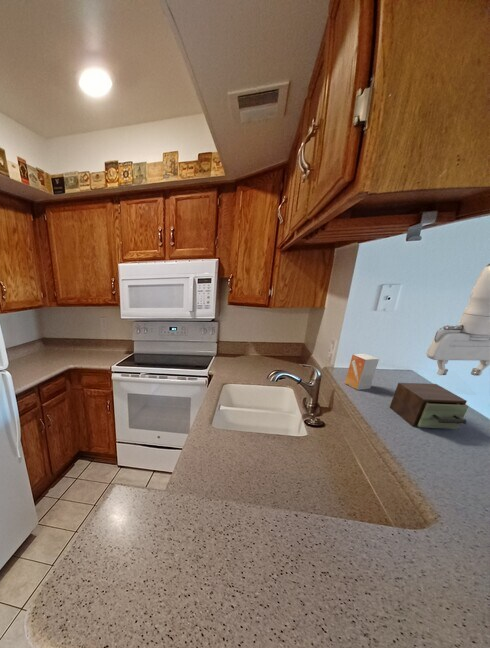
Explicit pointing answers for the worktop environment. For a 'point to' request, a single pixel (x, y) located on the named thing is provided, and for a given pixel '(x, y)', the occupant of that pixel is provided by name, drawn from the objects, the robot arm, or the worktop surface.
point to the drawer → (442, 415)
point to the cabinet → (419, 399)
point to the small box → (361, 371)
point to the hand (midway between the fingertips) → (458, 374)
